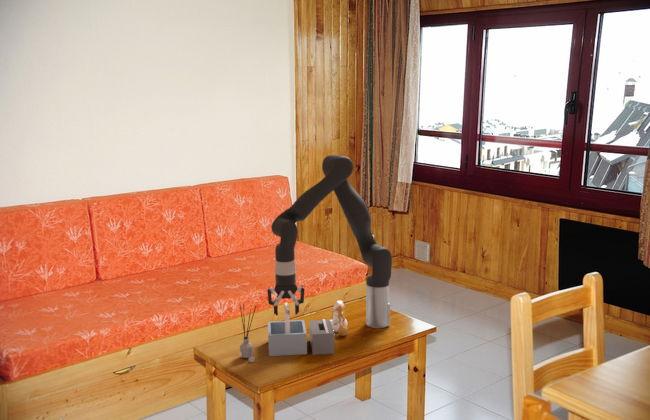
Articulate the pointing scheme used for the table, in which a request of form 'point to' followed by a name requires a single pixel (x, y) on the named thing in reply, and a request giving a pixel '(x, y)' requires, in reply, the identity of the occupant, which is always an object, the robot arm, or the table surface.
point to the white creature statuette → (335, 318)
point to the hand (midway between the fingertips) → (286, 314)
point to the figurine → (342, 329)
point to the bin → (287, 338)
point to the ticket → (287, 318)
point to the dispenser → (321, 337)
